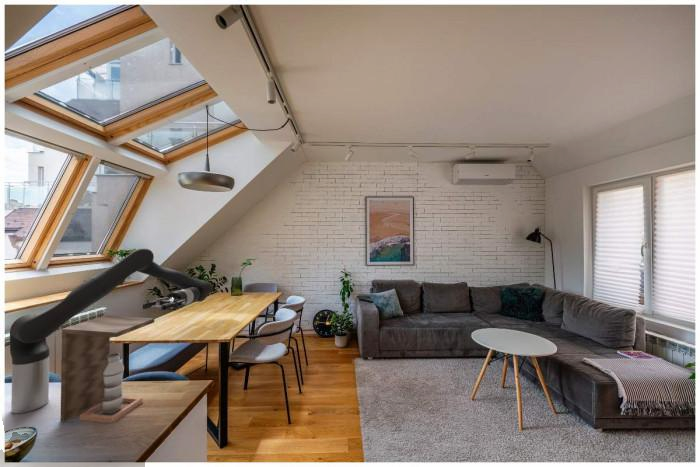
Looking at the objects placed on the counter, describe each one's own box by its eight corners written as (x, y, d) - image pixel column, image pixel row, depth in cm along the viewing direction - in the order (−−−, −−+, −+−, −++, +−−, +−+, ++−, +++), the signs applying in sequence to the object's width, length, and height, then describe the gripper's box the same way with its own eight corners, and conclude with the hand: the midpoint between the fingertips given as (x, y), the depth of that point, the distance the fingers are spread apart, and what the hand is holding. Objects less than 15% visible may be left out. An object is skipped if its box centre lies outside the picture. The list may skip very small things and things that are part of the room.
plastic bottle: (96, 418, 101) (98, 360, 101) (104, 407, 107) (106, 352, 107) (119, 414, 103) (120, 357, 103) (125, 403, 110) (127, 350, 110)
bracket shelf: (105, 395, 115) (106, 315, 115) (152, 399, 112) (154, 318, 112) (60, 421, 99) (62, 328, 99) (114, 427, 97) (116, 332, 96)
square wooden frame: (113, 398, 112) (113, 395, 112) (142, 401, 111) (142, 397, 111) (79, 419, 100) (79, 415, 100) (112, 423, 99) (112, 418, 99)
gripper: (166, 289, 136) (137, 297, 120) (195, 290, 134) (169, 298, 118) (166, 305, 136) (136, 315, 120) (194, 307, 134) (168, 317, 118)
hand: (153, 307), depth 119 cm, fingers open, 8 cm apart
